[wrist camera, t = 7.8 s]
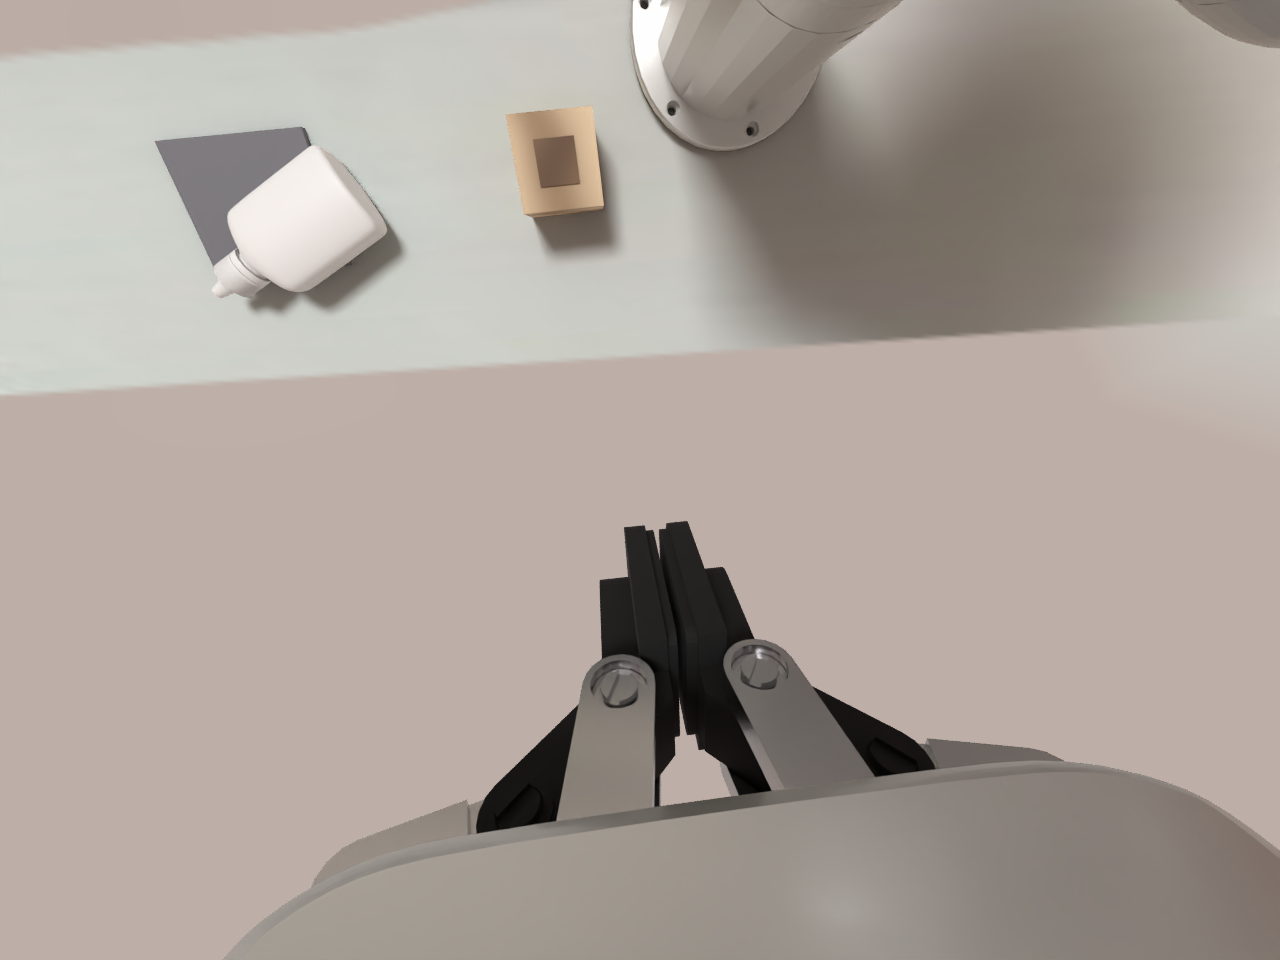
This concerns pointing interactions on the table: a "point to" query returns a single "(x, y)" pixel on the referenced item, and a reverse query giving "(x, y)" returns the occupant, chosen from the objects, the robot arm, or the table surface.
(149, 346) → the table surface
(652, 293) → the table surface
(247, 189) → the mat
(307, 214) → the eye dropper bottle
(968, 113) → the table surface
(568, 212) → the oak cube
